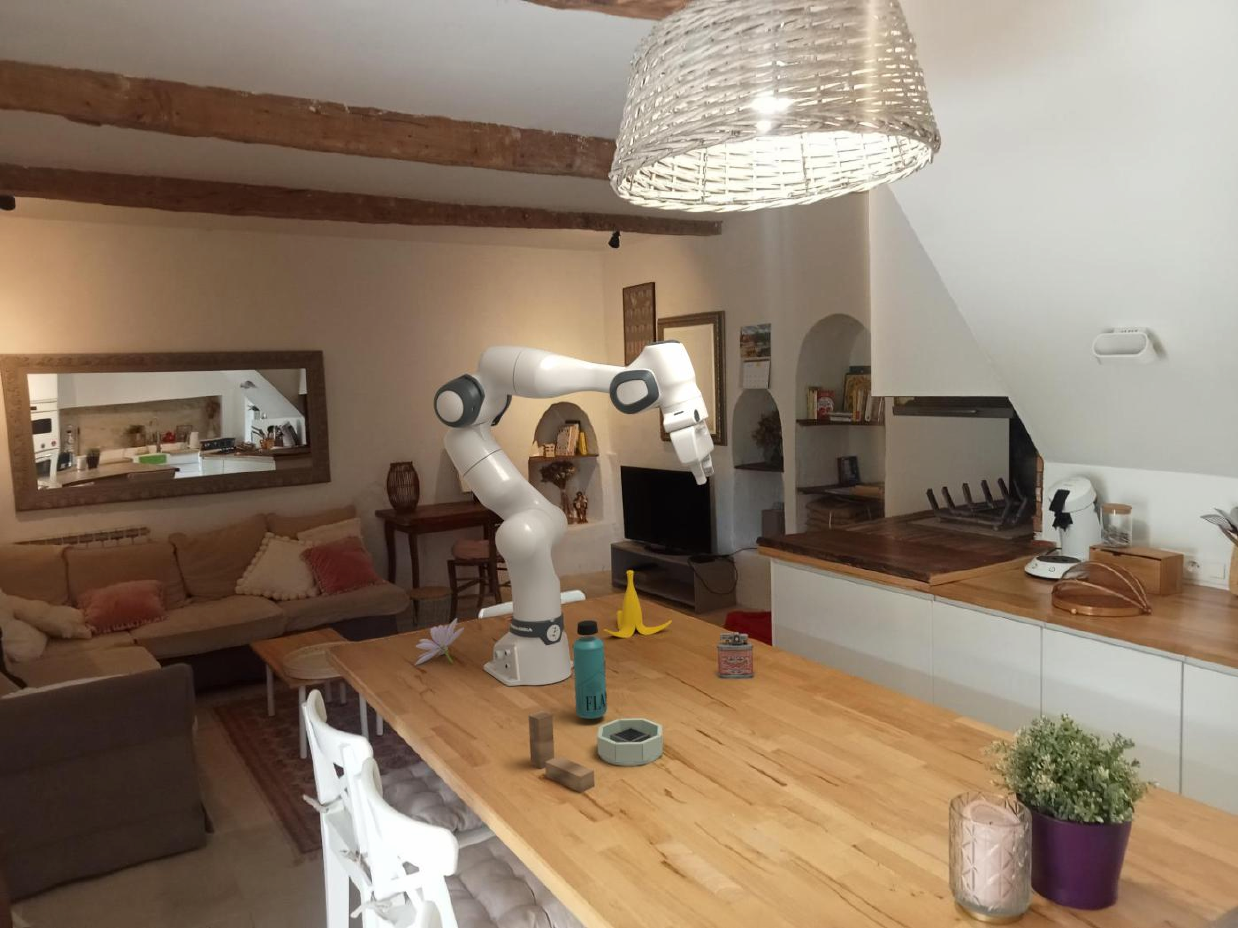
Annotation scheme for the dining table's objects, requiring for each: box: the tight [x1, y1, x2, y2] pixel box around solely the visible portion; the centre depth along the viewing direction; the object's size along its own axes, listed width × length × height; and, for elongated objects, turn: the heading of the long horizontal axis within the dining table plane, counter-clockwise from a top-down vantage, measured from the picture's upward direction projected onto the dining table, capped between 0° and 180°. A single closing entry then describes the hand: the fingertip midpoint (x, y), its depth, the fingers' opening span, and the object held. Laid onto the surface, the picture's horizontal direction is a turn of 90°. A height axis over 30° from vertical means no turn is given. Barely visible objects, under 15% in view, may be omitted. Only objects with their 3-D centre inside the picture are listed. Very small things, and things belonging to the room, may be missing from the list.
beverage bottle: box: [572, 619, 608, 719], centre depth 177 cm, size 6×7×20 cm
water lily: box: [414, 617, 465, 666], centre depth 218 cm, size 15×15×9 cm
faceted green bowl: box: [596, 717, 664, 767], centre depth 162 cm, size 12×12×4 cm
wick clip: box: [610, 727, 651, 743], centre depth 162 cm, size 5×5×2 cm
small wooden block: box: [545, 755, 595, 794], centre depth 152 cm, size 9×3×3 cm, turn 45°
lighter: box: [716, 631, 755, 680], centre depth 199 cm, size 8×3×10 cm, turn 84°
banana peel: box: [603, 569, 673, 639], centre depth 235 cm, size 17×19×17 cm
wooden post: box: [528, 710, 555, 770], centre depth 159 cm, size 3×3×9 cm
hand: (706, 479), depth 184 cm, fingers open, 8 cm apart
